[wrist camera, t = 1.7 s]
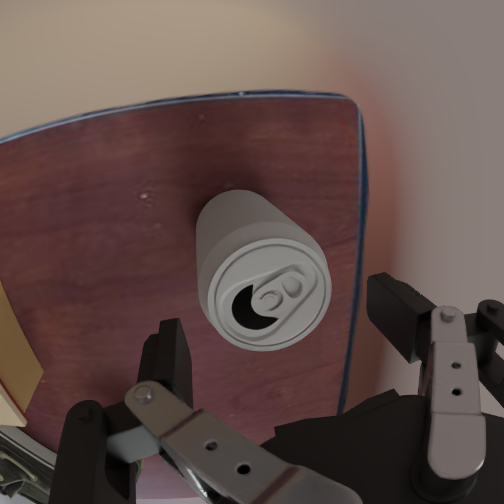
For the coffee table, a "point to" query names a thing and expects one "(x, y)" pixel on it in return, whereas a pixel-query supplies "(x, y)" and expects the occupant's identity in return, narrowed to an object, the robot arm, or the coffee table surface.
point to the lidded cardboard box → (15, 367)
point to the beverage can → (258, 273)
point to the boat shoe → (25, 466)
